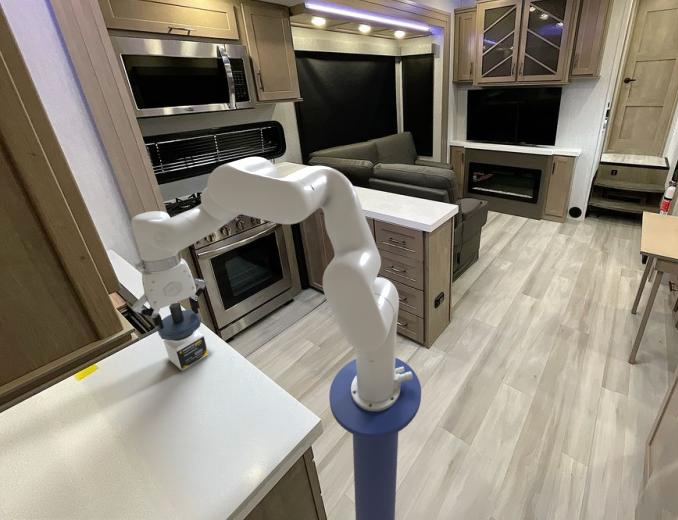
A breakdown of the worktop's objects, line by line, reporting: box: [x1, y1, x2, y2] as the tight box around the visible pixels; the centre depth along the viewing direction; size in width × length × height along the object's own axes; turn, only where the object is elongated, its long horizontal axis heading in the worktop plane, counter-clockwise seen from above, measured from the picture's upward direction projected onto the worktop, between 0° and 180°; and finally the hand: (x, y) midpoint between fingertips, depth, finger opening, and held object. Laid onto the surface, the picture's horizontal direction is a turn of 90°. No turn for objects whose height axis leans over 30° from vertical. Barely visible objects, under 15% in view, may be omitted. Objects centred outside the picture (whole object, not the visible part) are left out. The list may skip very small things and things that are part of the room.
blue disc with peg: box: [156, 302, 202, 340], centre depth 85 cm, size 9×9×7 cm
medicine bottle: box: [163, 329, 209, 371], centre depth 88 cm, size 7×7×12 cm
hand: (178, 318), depth 85 cm, fingers open, 7 cm apart
